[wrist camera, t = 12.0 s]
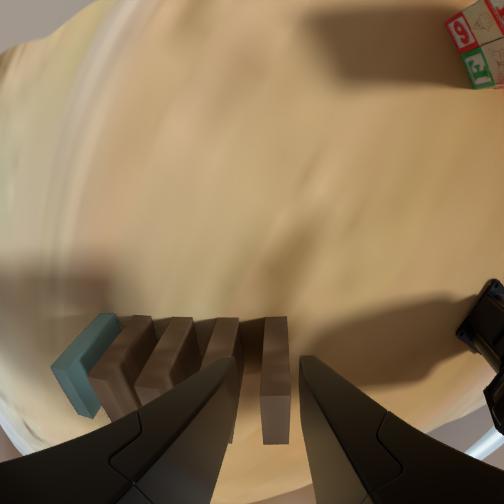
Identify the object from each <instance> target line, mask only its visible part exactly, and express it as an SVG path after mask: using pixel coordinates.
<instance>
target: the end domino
mask: <svg viewBox="0 0 504 504" xmlns="http://www.w3.org/2000/svg"><path fill="white" fill-rule="evenodd" d="M120 332H121V331H120V328H119V325H118V322H117V319H116V316H115V314H108V313H100V314H99V315H98V316H97V317H96V318H95V319H94V320H93V321H92V322H91V323H90V325H89V326H88V327H87V328H86V329H85V330H84V331H83V332H82V333H81V334H80V335H79V336H78V337H77V338H76V339H75V340H74V341H73V342H72V344H71V345H70V346H69V347H68V348H67V349H66V350H65V351H64V352H63V353H62V354H61V355H60V357H59V358H58V359H57V360H56V361H55V362H54V363H53V364H52V365H51V367H50V368H51V369H52V371H53V373H54V375H55V377H56V379H57V380H58V382H59V384H60V386H61V388H62V389H63V391H64V393H65V394H66V396H67V398H68V399H69V401H70V403H71V404H72V406H73V407H74V409H75V410H76V412H77V413H78V415H81V416H85V417H88V418H91V419H93V418H94V417H95V415H96V414H97V412H98V410H99V409H100V407H101V405H102V404H101V403H100V401H99V399H98V397H97V395H96V394H95V392H94V390H93V388H92V386H91V384H90V382H89V380H88V378H87V375H88V374H89V373H90V371H91V370H92V369H93V367H94V366H95V365H96V363H97V362H98V361H99V359H100V358H101V357H102V355H103V354H104V353H105V351H106V350H107V349H108V348H109V346H110V345H111V344H112V342H113V341H114V340H115V339H116V337H117V336H118V335H119V334H120Z"/></svg>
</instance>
